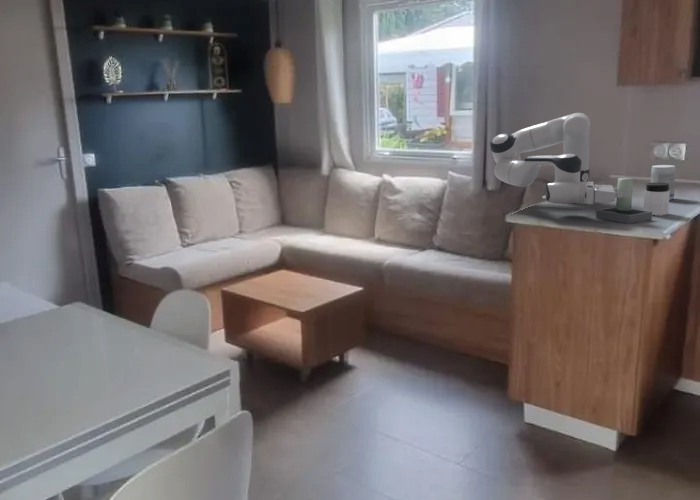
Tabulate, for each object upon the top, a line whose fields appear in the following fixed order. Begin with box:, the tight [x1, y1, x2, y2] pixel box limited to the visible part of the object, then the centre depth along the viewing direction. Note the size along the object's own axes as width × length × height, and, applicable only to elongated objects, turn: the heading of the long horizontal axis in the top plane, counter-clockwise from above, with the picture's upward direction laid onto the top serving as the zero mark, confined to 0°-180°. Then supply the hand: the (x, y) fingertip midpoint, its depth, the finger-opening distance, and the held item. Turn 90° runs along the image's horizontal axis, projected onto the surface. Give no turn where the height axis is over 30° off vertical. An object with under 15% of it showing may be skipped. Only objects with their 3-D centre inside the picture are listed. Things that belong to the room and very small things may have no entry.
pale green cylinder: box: [615, 177, 634, 211], centre depth 250 cm, size 5×5×12 cm
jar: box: [643, 182, 670, 217], centre depth 258 cm, size 9×8×12 cm
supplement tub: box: [650, 164, 676, 201], centre depth 288 cm, size 10×10×15 cm
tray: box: [595, 206, 653, 225], centre depth 252 cm, size 16×12×3 cm
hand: (626, 193), depth 250 cm, fingers closed on pale green cylinder, 5 cm apart
